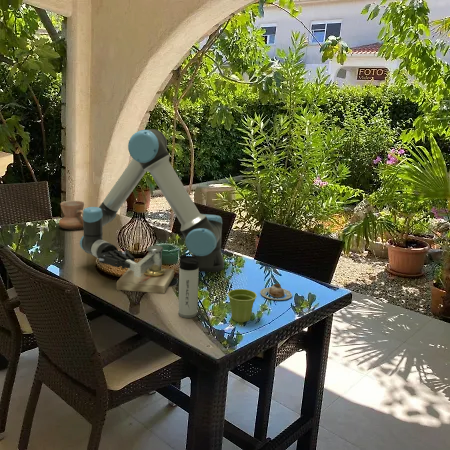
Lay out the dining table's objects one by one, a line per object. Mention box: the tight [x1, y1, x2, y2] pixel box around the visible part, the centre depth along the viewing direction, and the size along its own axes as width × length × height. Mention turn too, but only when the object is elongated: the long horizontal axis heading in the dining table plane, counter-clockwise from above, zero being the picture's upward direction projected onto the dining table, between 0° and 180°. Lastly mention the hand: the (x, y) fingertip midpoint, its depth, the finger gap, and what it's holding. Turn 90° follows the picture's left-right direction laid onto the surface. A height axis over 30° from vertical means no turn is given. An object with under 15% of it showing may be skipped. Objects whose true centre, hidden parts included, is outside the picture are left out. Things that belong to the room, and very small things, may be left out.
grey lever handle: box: [134, 245, 165, 277], centre depth 174 cm, size 21×8×10 cm, turn 168°
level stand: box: [116, 268, 175, 294], centre depth 180 cm, size 18×18×3 cm
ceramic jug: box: [58, 200, 85, 231], centre depth 250 cm, size 18×14×14 cm
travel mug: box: [177, 254, 200, 319], centre depth 153 cm, size 6×7×20 cm
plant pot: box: [227, 288, 258, 323], centre depth 152 cm, size 9×9×9 cm
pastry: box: [260, 283, 293, 301], centre depth 174 cm, size 12×12×5 cm
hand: (136, 268), depth 167 cm, fingers closed
